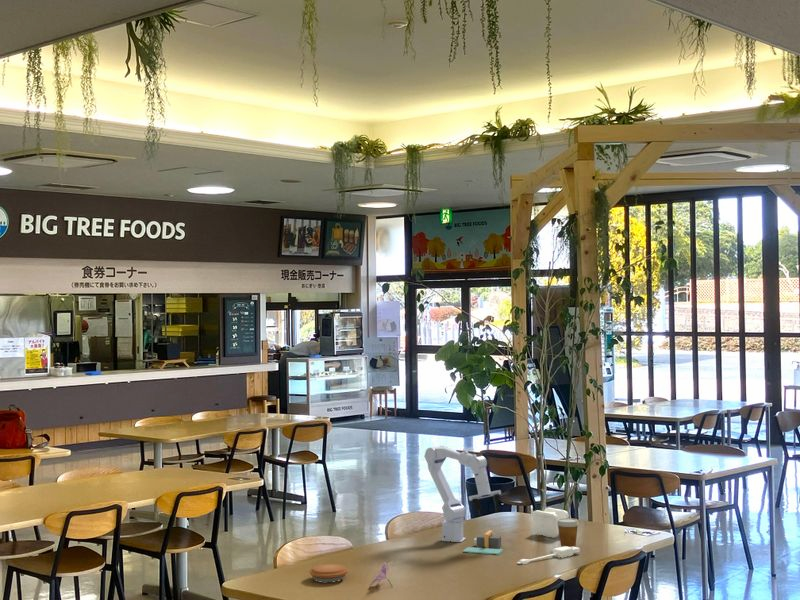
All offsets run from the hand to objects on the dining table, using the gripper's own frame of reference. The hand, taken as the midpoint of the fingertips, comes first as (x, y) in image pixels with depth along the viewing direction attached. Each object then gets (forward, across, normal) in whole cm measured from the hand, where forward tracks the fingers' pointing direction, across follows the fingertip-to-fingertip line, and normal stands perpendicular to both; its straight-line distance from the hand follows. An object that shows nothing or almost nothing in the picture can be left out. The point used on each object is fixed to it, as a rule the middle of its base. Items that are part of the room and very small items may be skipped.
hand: (488, 513), depth 426 cm
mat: (+15, -7, -6) cm, 18 cm away
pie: (+11, -75, -41) cm, 86 cm away
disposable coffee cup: (+21, +31, -4) cm, 38 cm away
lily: (+17, -55, -54) cm, 79 cm away
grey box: (+14, -3, +3) cm, 15 cm away
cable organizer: (+16, +30, +20) cm, 40 cm away
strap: (+14, -3, +3) cm, 15 cm away
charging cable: (+23, +17, -22) cm, 36 cm away
